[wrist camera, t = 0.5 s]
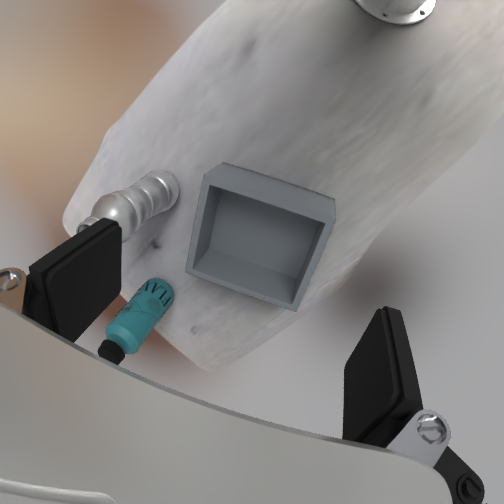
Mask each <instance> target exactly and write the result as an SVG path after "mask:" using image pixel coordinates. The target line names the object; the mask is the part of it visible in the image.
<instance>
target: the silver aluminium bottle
mask: <svg viewBox="0 0 504 504" xmlns="http://www.w3.org/2000/svg"><path fill="white" fill-rule="evenodd" d="M178 196H179V185H178V182H177V180H176V178H175V177H174V176H173V175H172V174H171V173H170V172H168V171H165V170H155V171H151V172H149V173H148V174H146V175H145V176H144V177H143V178H142V179H141V180H140V181H138V182H137V183H135V184H134V185H132V186H130V187H128V188H125V189H123V190H120V191H116V192H113V193H109V194H107V195H104V196H102V197H101V198H100V199H99V200H98V201H97V202H96V203H95V205H94V206H93V209H92V212H91V216H90V217H88V218H86V219H85V221H83V222H82V223H80V224H79V225H78V227H77V230H76V234H78V233H79V232H81V231H82V230H84V229H85V228H87V227H89V226H90V225H92V224H93V223H95V222H97V221H98V220H100V219H101V218H104V217H105V218H109V219H112V220H115V221H117V222H118V223H119V226H120V227H121V228H122V243H124V242H126V241H128V240H129V239H130V238H131V237H132V236H133V235H134V233H135V232H136V231H137V230H138V229H139V228H140V226H141V225H142V224H144V223H145V222H146V221H147V220H148V219H149V218H151V217H153V216H154V215H156V214H159V213H162V212H164V211H166V210H168V209H170V208H171V207H172V206H173V205H174V203H175V202H176V200H177V199H178Z"/></svg>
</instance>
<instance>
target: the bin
mask: <svg viewBox="0 0 504 504" xmlns="http://www.w3.org/2000/svg"><path fill="white" fill-rule="evenodd" d="M335 221H336V208H335V199H333V198H330V197H327V196H325V195H322V194H319V193H316V192H314V191H311V190H308V189H305V188H302V187H299V186H296V185H293V184H290V183H287V182H284V181H281V180H278V179H275V178H272V177H269V176H266V175H263V174H260V173H257V172H254V171H250V170H247V169H244V168H241V167H237V166H234V165H231V164H227V163H224V162H223V163H222V164H220V165H218V166H217V167H215V168H214V169H212V170H211V171H209V172H208V173H206V174H205V175H204V177H203V181H202V186H201V191H200V196H199V201H198V206H197V211H196V216H195V221H194V226H193V231H192V237H191V242H190V248H189V253H188V259H187V265H186V270H185V272H186V273H188V274H191V275H194V276H196V277H199V278H202V279H205V280H207V281H210V282H213V283H215V284H218V285H221V286H224V287H226V288H229V289H232V290H235V291H237V292H240V293H243V294H246V295H249V296H251V297H254V298H257V299H260V300H263V301H266V302H268V303H271V304H274V305H277V306H280V307H283V308H286V309H289V310H292V311H295V312H296V311H297V309H298V307H299V305H300V303H301V300H302V298H303V296H304V294H305V291H306V289H307V287H308V285H309V282H310V280H311V278H312V276H313V273H314V271H315V269H316V266H317V264H318V262H319V259H320V257H321V255H322V252H323V250H324V247H325V245H326V243H327V240H328V238H329V235H330V233H331V230H332V228H333V226H334V223H335Z"/></svg>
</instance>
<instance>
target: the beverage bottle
mask: <svg viewBox="0 0 504 504" xmlns="http://www.w3.org/2000/svg"><path fill="white" fill-rule="evenodd" d="M138 290H139V291H138V292H137V293H136V294H134V296H133V298H132V297H131V298H132V299H131V300H130V301H129V302H128V303H127V304H126V306H125V307H123V309H121V311H120V312H119V314H118V315H116V317H115V319H114V320H113V321H112V322H111V323H110V324H109V325H108V326H107V328H106V336H107V340H104V341H103V342H102V344H101V346H100V347H99V349H98V355H99V357H101V358H103V359H106V360H108V361H110V362H112V363H114V364H116V365H119V363H120V362H121V361H122V360H123V359H124V358H125V354H134V353H136V352H137V351H138V350H139V347H140V346H141V345H142V343H143V341H144V340H145V339H146V337H147V336H148V335H149V333H150V332H151V330H152V329H153V328H154V326H155V325H156V324H157V322H158V321H159V320H160V318H161V317H162V316H163V314H164V313H165V312H166V310H168V308H169V306H170V305H171V304H172V302H173V298H174V294H173V290H172V288H171V287H170V286H169V284H167V283H166V282H165V281H163V280H161V279H157V278H153V279H150V280H148V281H146V283H145V284H144V285H143V286H142V287H141V288H140V289H138Z"/></svg>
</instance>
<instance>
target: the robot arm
mask: <svg viewBox="0 0 504 504" xmlns="http://www.w3.org/2000/svg"><path fill="white" fill-rule="evenodd" d="M355 1H356V2H357V3H358V4H359V5H360V6H361V7H362V8H363V9H364V10H365V11H367V12H368V13H369V14H371V15H373V16H374V17H376V18H378V19H380V20H383V21H385V22H389V23H393V24H400V25H406V24H413V23H417V22H419V21H421V20H423V19H425V18H426V17H427V16H428V15H429V14H430V13H431V12H432V10H433V8H434V7H435V2H436V0H355ZM420 13H421V14H422V15H420ZM383 14H384V15H385V16H386V17H384V16H382V15H383ZM121 253H122V228H121V227H120V226H119V223H118V222H117V221H115V220H112V219H109V218H105V217H104V218H101V219H100V220H98V221H97V222H95V223H93V224H92V225H90V226H89V227H87V228H85V229H84V230H82V231H81V232H79V233H78V234H76V235H75V236H73V237H71V238H70V239H69V240H67V241H65V242H64V243H62V244H61V245H60V246H58V247H56V248H55V249H54V250H52V251H51V252H49V253H48V254H46V255H45V256H43V257H42V258H41V259H39V260H38V261H36V262H35V263H33V264H32V265H31V266H29V271H30V274H28V275H27V276H26V274H25V273H24V271H22V270H21V269H18V268H5V269H2V270H0V504H482V501H483V498H484V492H485V491H484V485H483V483H482V480H481V479H480V478H479V476H478V475H477V474H476V473H475V472H474V471H473V470H472V469H471V468H470V467H469V466H468V465H467V464H466V463H465V462H464V461H463V460H461V458H460V457H458V456H457V455H456V454H455V453H454V452H453V451H452V450H451V449H450V448H449V447H448V446H447V445H448V443H449V440H450V438H451V431H450V427H449V425H448V423H447V421H446V420H445V419H444V418H443V417H442V416H441V415H440V414H438V413H437V412H435V411H432V410H427V409H424V410H423V405H422V399H421V394H420V389H419V384H418V379H417V374H416V370H415V366H414V361H413V357H412V352H411V348H410V344H409V340H408V336H407V333H406V329H405V325H404V321H403V317H402V314H401V311H400V310H397V309H394V308H390V307H387V306H385V307H383V308H382V309H378V310H377V311H376V312H375V314H374V316H373V318H372V320H371V322H370V323H369V325H368V327H367V329H366V330H365V332H364V334H363V336H362V337H361V339H360V341H359V342H358V344H357V346H356V347H355V349H354V351H353V352H352V354H351V356H350V358H349V359H348V361H347V363H346V365H345V369H344V410H343V436H342V439H338V438H334V437H329V436H324V435H320V434H316V433H311V432H307V431H303V430H299V429H295V428H291V427H287V426H283V425H279V424H275V423H272V422H268V421H265V420H261V419H258V418H254V417H251V416H248V415H244V414H241V413H238V412H235V411H232V410H229V409H226V408H223V407H220V406H217V405H214V404H211V403H208V402H205V401H202V400H199V399H197V398H194V397H191V396H189V395H186V394H183V393H181V392H178V391H176V390H173V389H171V388H168V387H165V386H163V385H161V384H159V383H156V382H154V381H151V380H149V379H147V378H144V377H142V376H140V375H138V374H135V373H133V372H131V371H129V370H127V369H124V368H122V367H120V366H118V365H116V364H114V363H112V362H110V361H108V360H106V359H103V358H101V357H99V356H97V355H95V354H93V353H91V352H89V351H88V350H86V349H84V348H82V347H80V346H78V345H76V344H74V342H75V341H76V340H77V339H78V338H79V337H80V336H81V334H82V333H83V332H84V331H85V330H86V329H87V328H88V327H89V326H90V325H91V324H92V322H93V321H94V320H95V319H96V318H97V317H98V316H99V315H100V314H101V313H102V312H103V311H104V310H105V309H106V308H107V307H108V305H109V304H110V303H111V302H112V301H113V300H114V299H115V298H116V297H117V296H118V295H119V293H120V291H121ZM486 504H487V503H486Z"/></svg>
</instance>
